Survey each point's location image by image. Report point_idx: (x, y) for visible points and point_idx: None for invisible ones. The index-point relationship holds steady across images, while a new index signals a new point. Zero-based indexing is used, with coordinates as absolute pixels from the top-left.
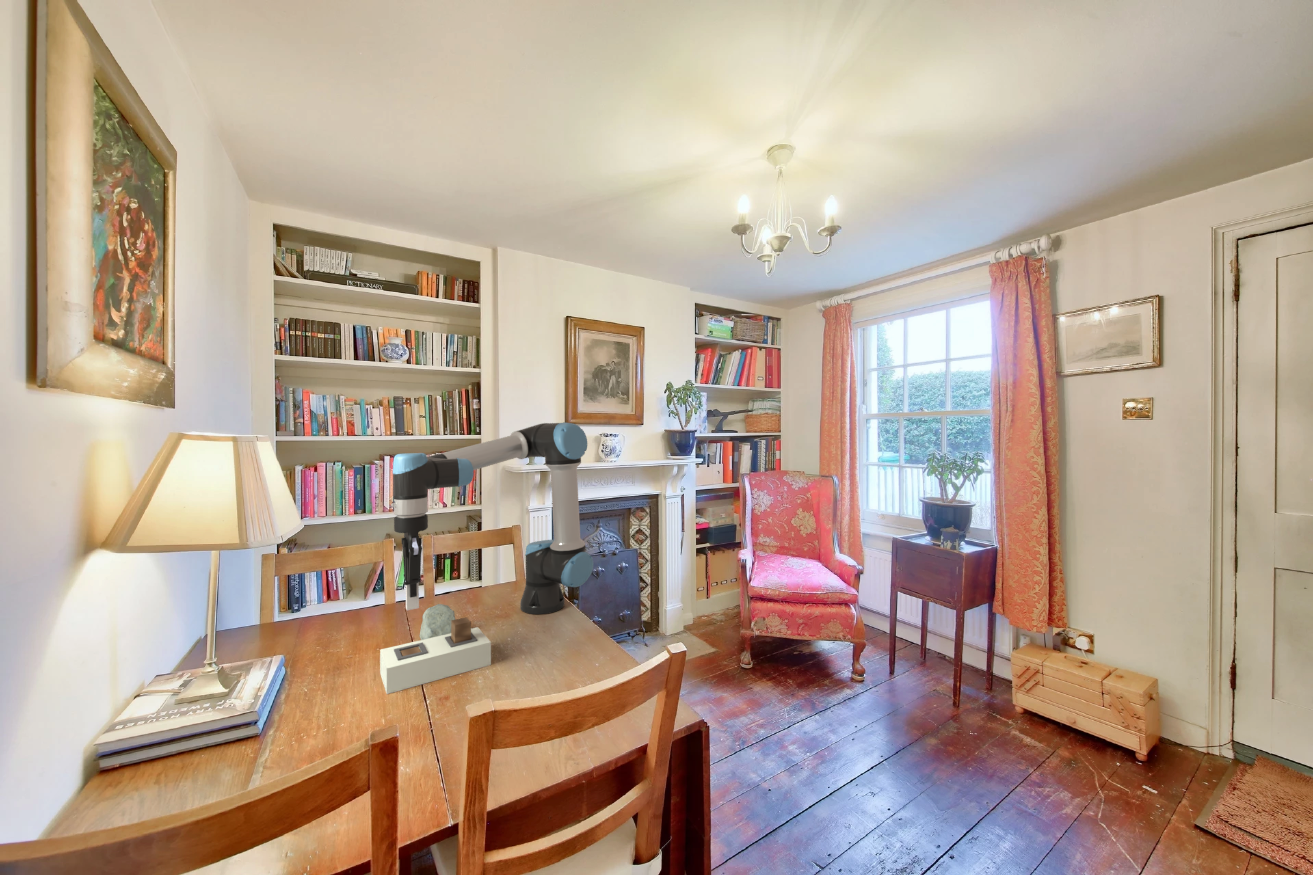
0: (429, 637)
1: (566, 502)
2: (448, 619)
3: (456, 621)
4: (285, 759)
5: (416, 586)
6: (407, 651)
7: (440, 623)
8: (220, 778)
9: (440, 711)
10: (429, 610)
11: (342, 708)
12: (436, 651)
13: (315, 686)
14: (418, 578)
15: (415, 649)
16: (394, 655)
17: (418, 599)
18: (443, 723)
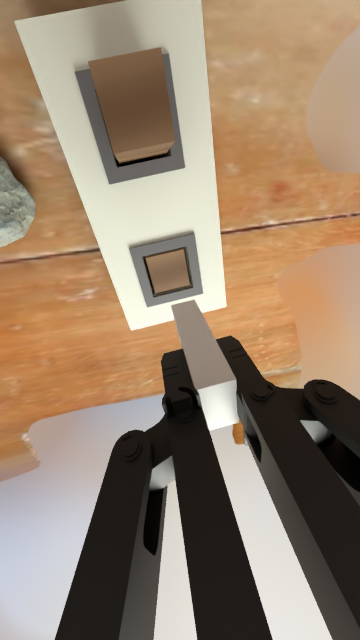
0: (23, 229)
1: None
2: None
3: (133, 129)
4: (292, 355)
5: (258, 371)
6: (165, 279)
7: None
8: (286, 387)
9: (315, 201)
10: None
11: (222, 333)
12: (192, 211)
13: (144, 375)
14: (357, 410)
15: (160, 263)
16: (172, 301)
17: (204, 318)
18: (350, 196)
